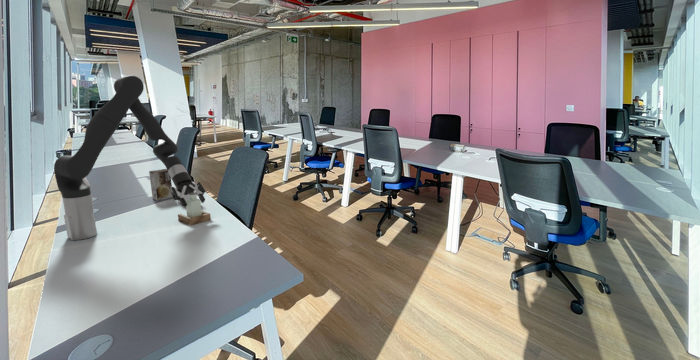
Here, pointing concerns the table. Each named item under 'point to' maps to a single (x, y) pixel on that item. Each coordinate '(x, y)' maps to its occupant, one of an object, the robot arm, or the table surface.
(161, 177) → the coffee box
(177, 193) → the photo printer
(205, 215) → the rest
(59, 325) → the table surface
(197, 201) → the bottle
